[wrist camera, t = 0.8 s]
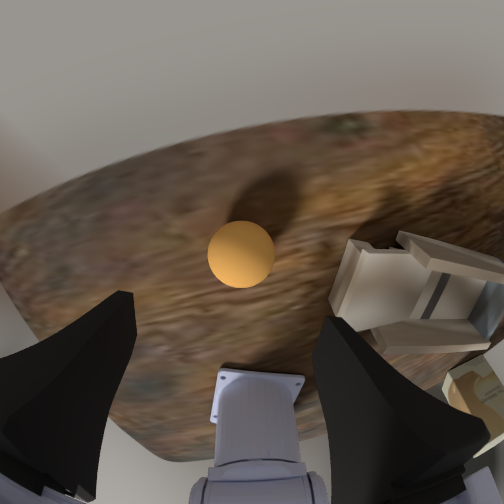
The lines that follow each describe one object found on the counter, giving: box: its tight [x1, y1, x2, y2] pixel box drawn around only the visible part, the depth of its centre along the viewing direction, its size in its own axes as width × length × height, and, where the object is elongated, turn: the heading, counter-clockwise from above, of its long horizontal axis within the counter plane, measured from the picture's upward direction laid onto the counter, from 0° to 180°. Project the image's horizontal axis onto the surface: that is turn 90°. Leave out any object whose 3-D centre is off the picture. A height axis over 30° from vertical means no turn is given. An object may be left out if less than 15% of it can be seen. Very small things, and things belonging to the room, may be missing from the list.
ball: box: [208, 221, 275, 288], centre depth 17 cm, size 4×4×4 cm
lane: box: [328, 230, 504, 354], centre depth 19 cm, size 8×18×4 cm, turn 80°
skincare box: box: [442, 355, 504, 458], centre depth 22 cm, size 6×4×12 cm
